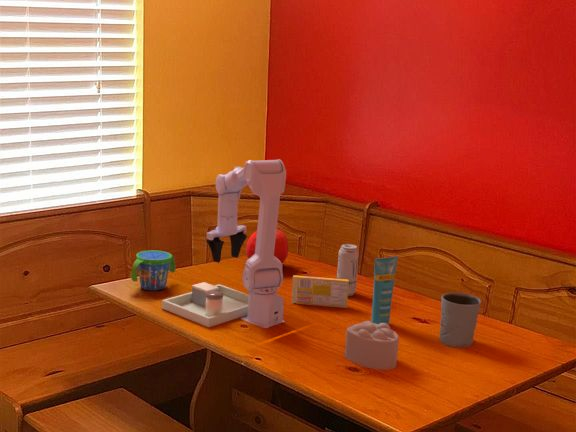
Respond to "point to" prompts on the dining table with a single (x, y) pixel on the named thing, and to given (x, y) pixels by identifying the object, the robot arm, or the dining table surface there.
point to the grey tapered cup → (458, 319)
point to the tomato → (279, 249)
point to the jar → (213, 303)
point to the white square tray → (183, 306)
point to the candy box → (320, 291)
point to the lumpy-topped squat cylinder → (372, 345)
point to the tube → (383, 289)
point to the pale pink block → (201, 292)
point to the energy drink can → (348, 266)
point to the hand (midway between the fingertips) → (225, 259)
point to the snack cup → (153, 269)
